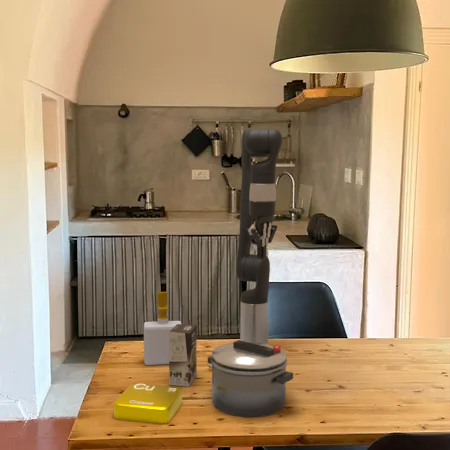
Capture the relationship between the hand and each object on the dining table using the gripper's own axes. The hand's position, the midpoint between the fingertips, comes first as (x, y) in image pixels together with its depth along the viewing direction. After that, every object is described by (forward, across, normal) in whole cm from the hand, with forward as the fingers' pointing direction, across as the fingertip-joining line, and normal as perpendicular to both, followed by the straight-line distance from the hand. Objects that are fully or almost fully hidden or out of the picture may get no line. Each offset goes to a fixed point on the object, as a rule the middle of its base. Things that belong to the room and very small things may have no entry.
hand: (261, 258), depth 176 cm
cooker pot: (+37, +14, +6) cm, 40 cm away
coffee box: (+37, +14, -18) cm, 44 cm away
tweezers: (+38, +3, -12) cm, 40 cm away
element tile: (+38, +35, -11) cm, 52 cm away
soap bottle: (+37, +6, -34) cm, 51 cm away
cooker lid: (+24, +14, +6) cm, 29 cm away
